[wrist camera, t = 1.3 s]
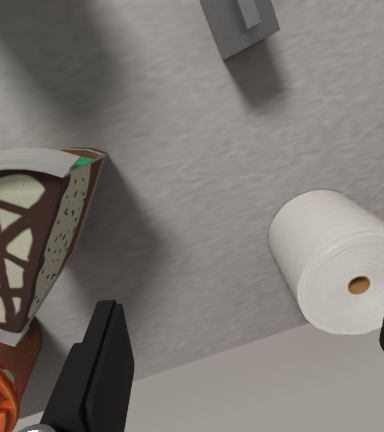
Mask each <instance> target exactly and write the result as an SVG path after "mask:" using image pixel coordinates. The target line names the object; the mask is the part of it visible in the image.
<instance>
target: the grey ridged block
mask: <svg viewBox="0 0 384 432" xmlns="http://www.w3.org/2000/svg"><path fill="white" fill-rule="evenodd" d="M200 4H201V6H202V9H203V11H204V14H205V16H206V19H207V22H208V24H209V27H210V29H211V32H212V34H213V37H214V39H215V42H216V44H217V47H218V49H219V52H220V54H221V57H222V59H223V61H224V60H226V59H228V58H229V57H231V56H233V55H235V54H237V53H239V52H241V51H243V50H245V49H246V48H248V47H250V46H252V45H254V44H256V43H258V42H260V41H262V40H264V39H265V38H267V37H269V36H270V35H272V34H274V33H275V32H277V31H279V30H280V28H279V24H278V21H277V18H276V15H275V12H274V9H273V6H272V2H271V0H200Z"/></svg>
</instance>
